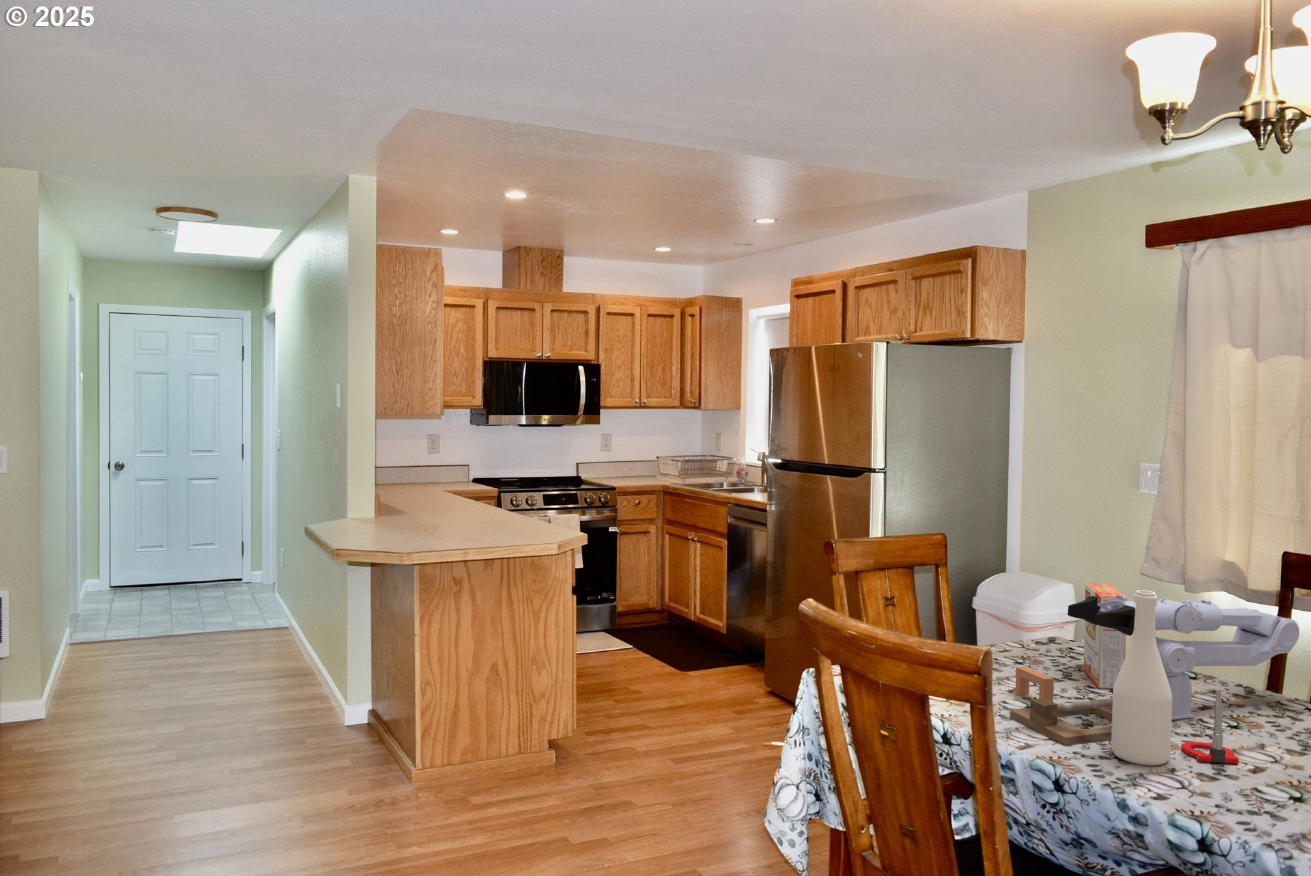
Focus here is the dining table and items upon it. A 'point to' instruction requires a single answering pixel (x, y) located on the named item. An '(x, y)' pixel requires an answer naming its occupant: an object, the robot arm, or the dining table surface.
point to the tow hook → (1216, 749)
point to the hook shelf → (1047, 723)
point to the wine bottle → (1142, 694)
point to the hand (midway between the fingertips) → (1082, 614)
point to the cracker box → (1103, 642)
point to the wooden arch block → (1039, 678)
